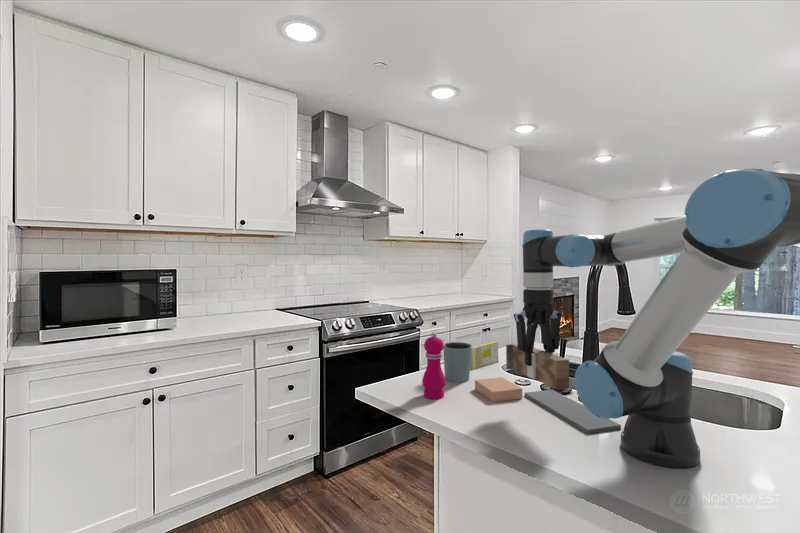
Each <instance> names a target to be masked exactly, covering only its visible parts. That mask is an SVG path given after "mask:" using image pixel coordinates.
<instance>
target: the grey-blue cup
mask: <svg viewBox="0 0 800 533" xmlns="http://www.w3.org/2000/svg"><path fill="white" fill-rule="evenodd" d="M472 347H473V346H472V345H471V344H470V343H468V342H462V341H461V342H459V341H452V342H450V341H449V342H446V343H443V350H442V351H443V363H444V365H443V366H444V368H443V369H444V377H445V381H448V382H451V381H452V383H465V382H468V381H469V380H470V374H471V369H470V363H471V352H472Z"/></svg>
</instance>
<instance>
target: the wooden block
mask: <svg viewBox="0 0 800 533" xmlns="http://www.w3.org/2000/svg"><path fill="white" fill-rule="evenodd" d="M505 346H506V348H505V349H506V350H505V352H506V353H505V354H506V360H505V361H506V367H505V368H506V369H505V370H514V371H517V372H519V373H521V374H522V375H525V376H527V365H526V364H525V353H524V352H523V351H520V350H518V344H517V343H511V344H506V345H505ZM533 353H534V354H536V379H534V381H538V382H540V383H542V384H544V385H546V386H548V387H551V388H552V389H553V390H554V389H555V391H556V390H557V391H558V390H564V389H565V390H568V389H570V359H569V358H565V357H562V356H559V355H558V354H554V353H552V354H551V353H549V352H546V351H545V350H544V349H543V350H542V349H539V348H536V347H534V348H533Z"/></svg>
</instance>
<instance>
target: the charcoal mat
mask: <svg viewBox="0 0 800 533" xmlns="http://www.w3.org/2000/svg"><path fill="white" fill-rule="evenodd" d="M524 397H526V398H527V399H529V400H531V401H532V402H534V403H535V404H537V405H539V406H540V407H542V408H544V409H545V410H547V411H549V412H550V413H551V414H552V413H553V414H554V415H556V416H557V417H559V418H560V419H562V420H564V421H566V422H567V423H569V424H570V425H572V426H574V428H575V427H576V428H577V429H579V430H580V431H582V432H584V433H586V434H594V433H602V432H608V431H617V430H621V429H622V425H621V424H619V423H618V422H616V421H614V420H613V419H611V418H609V419H603V418H600V417H597V416H595V415H593V414H592V413H591V412H589V411H588V410H587V409H586V407H585V406H584V405H583V404H581V403H579V402H577V401H576V400H573V399H572V398H569V397H567V396H566V395H564V394H562V393H559V392H558V391H556V390H554V389H547V390H545V389H544V390H537V391H528V392H524Z"/></svg>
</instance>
